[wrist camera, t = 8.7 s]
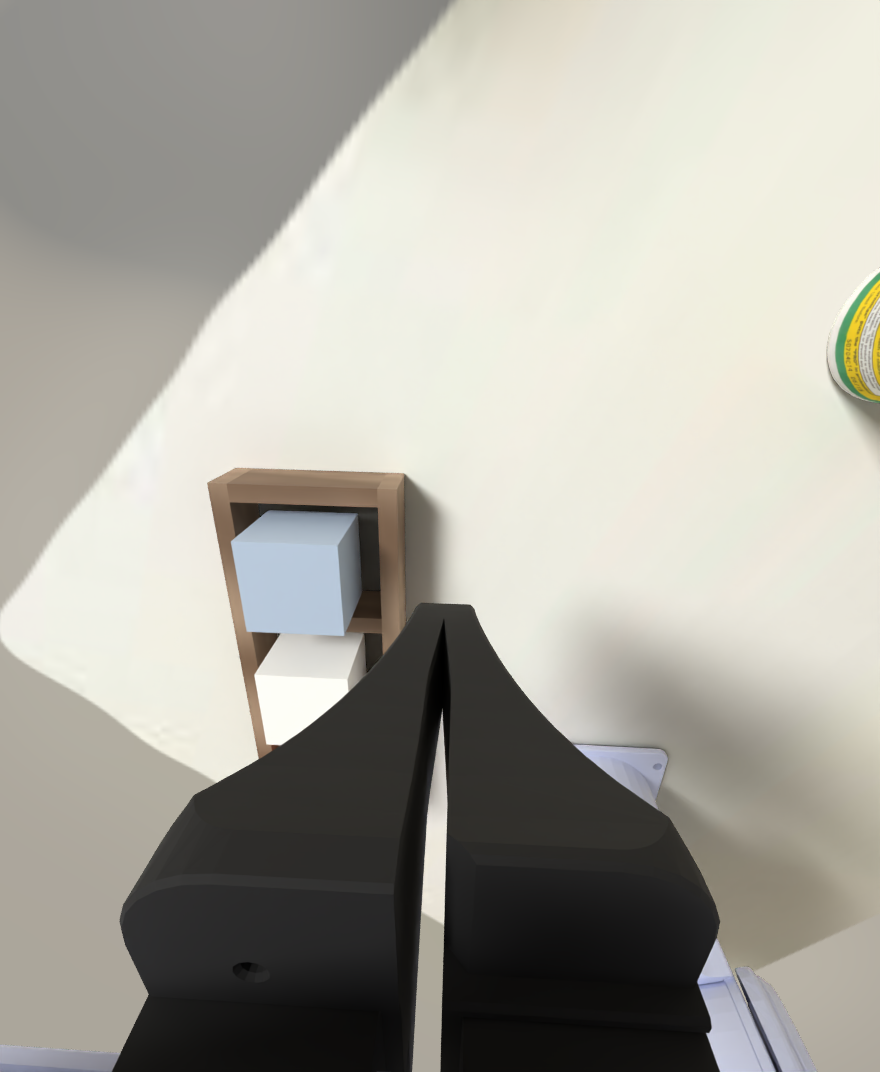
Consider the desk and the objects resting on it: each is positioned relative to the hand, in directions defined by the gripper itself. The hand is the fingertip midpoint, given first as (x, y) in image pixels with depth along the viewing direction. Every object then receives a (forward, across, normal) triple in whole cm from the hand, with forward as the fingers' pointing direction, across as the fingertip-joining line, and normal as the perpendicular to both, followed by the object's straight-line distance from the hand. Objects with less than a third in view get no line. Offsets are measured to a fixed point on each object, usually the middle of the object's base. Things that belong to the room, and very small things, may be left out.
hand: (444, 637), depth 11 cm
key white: (+9, +6, +8) cm, 14 cm away
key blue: (+9, +6, +2) cm, 11 cm away
